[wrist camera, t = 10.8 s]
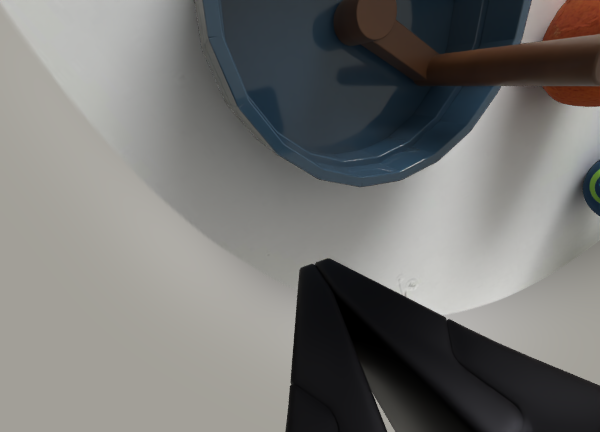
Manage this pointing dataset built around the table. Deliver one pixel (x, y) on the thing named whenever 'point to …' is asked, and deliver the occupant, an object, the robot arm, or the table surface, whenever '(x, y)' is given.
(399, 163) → the bowl
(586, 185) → the christmas ornament
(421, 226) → the table surface
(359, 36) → the crank handle
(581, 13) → the fruit
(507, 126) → the table surface
